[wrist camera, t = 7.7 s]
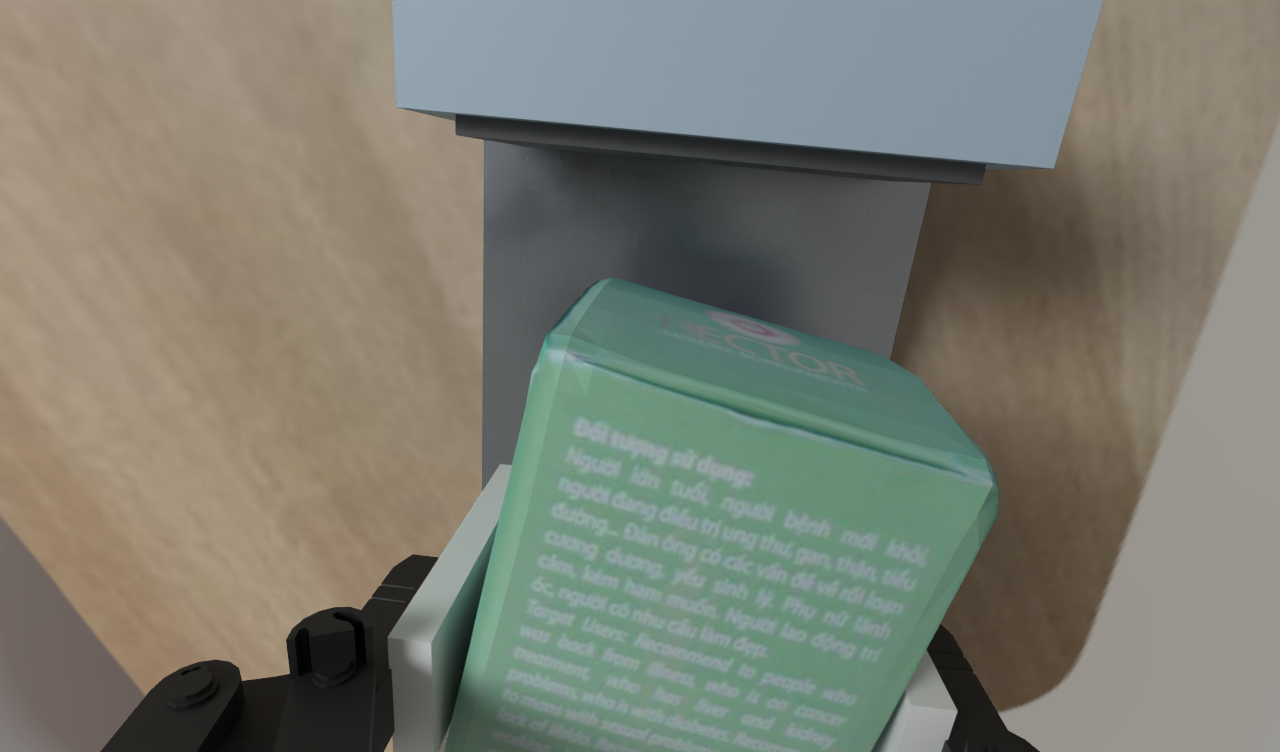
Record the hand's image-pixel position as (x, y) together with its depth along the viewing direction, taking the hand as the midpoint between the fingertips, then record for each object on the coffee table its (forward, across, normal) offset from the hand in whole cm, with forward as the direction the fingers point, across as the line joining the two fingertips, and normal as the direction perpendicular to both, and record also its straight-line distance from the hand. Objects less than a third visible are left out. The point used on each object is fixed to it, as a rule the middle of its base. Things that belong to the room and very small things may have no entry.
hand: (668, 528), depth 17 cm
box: (+1, 0, 0) cm, 1 cm away
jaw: (+5, 0, +11) cm, 13 cm away
